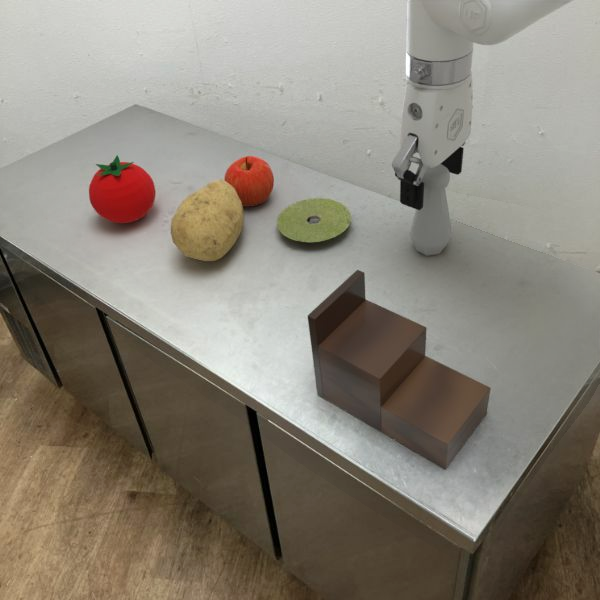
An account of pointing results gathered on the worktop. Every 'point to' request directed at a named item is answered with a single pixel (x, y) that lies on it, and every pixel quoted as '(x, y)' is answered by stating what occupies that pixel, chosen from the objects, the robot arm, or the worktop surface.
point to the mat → (314, 220)
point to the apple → (250, 180)
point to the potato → (208, 222)
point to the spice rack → (391, 375)
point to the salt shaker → (432, 213)
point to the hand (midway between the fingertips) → (431, 188)
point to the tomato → (121, 191)
